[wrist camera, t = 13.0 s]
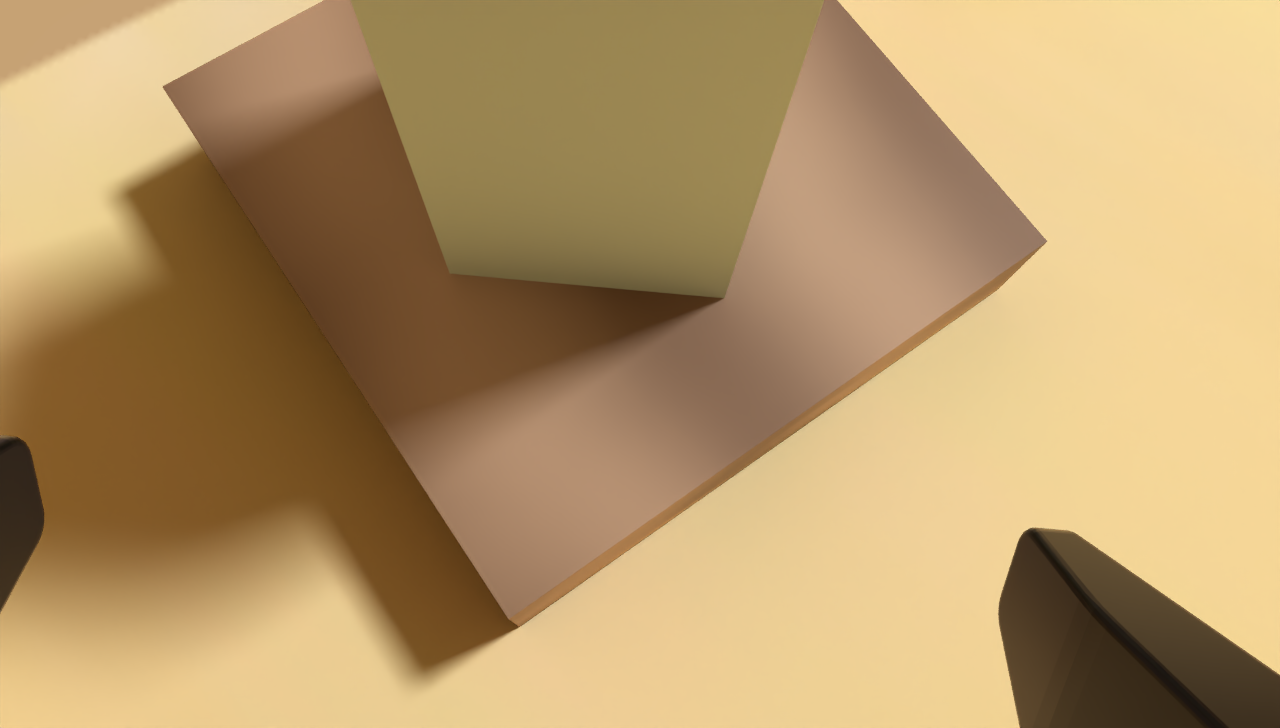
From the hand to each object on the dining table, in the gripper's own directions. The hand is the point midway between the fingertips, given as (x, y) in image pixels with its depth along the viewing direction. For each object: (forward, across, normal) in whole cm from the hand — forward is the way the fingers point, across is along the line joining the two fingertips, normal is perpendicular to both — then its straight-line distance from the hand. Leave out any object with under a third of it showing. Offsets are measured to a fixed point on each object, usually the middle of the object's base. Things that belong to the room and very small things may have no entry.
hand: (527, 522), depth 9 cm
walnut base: (+13, 0, +2) cm, 13 cm away
